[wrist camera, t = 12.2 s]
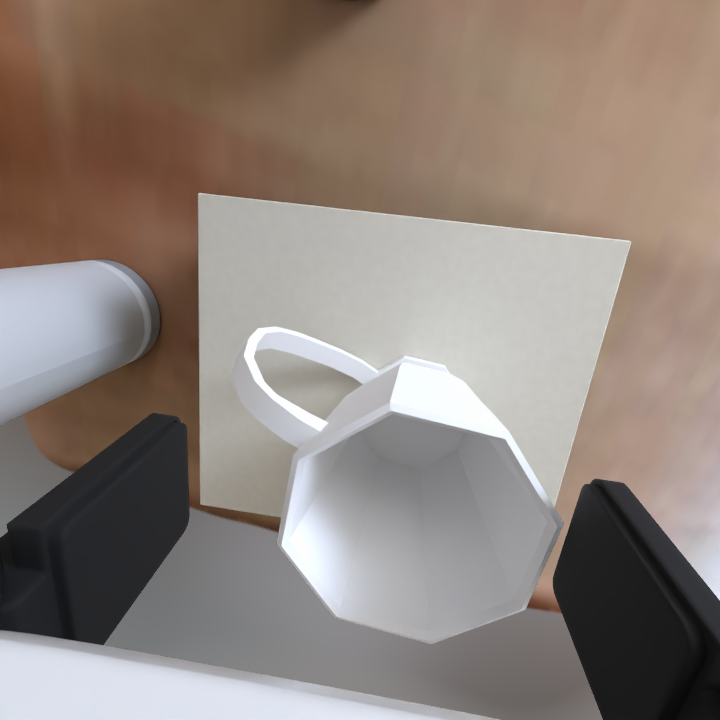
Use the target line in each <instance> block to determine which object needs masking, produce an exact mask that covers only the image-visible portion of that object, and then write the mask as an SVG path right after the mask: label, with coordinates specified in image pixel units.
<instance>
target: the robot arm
mask: <svg viewBox="0 0 720 720" xmlns="http://www.w3.org/2000/svg"><path fill="white" fill-rule="evenodd" d="M188 521H189V486H188V453H187V428H186V425H185V424H183V423H181V421H180V419H179V418H178V417H177V416H170V415H164V414H157V413H153V414H151V415H149V416H148V417H147V418H145V419H144V420H143V421H141V422H140V423H139V424H137V425H136V426H135V427H133V428H132V429H131V430H130V431H128V432H127V433H126V434H124V435H123V436H122V437H120V438H119V439H118V440H116V441H115V442H114V443H113V444H111V445H110V446H109V447H107V448H106V449H105V450H103V451H102V452H101V453H99V454H98V455H97V456H95V457H94V458H93V459H92V460H90V461H89V462H88V463H86V464H85V465H84V466H82V467H81V468H80V469H78V470H77V471H76V472H75V473H73V474H72V475H71V476H69V477H68V478H67V479H65V480H64V481H63V482H61V483H60V484H59V485H57V486H56V487H55V488H54V489H52V490H51V491H50V492H48V493H47V494H46V495H44V496H43V497H42V498H40V499H39V500H38V501H37V502H35V503H34V504H33V505H31V506H30V507H29V508H28V509H26V510H25V511H23V512H22V513H21V514H20V515H18V516H17V517H16V518H14V519H13V520H12V521H10V522H9V523H8V524H7V529H8V532H7V533H6V534H5V535H4V536H2V537H1V538H0V720H500V719H495V718H490V717H485V716H480V715H474V714H469V713H464V712H459V711H454V710H449V709H444V708H439V707H433V706H428V705H423V704H418V703H412V702H407V701H402V700H396V699H391V698H386V697H381V696H376V695H370V694H365V693H360V692H354V691H350V690H344V689H339V688H333V687H328V686H323V685H318V684H312V683H307V682H302V681H296V680H291V679H286V678H280V677H275V676H270V675H264V674H259V673H253V672H248V671H242V670H237V669H232V668H226V667H221V666H215V665H210V664H204V663H199V662H193V661H188V660H182V659H177V658H171V657H166V656H161V655H155V654H150V653H144V652H139V651H133V650H128V649H122V648H117V647H110V646H104V643H105V642H106V640H107V639H108V638H109V636H110V635H111V633H112V632H113V631H114V629H115V628H116V626H117V625H118V624H119V622H120V621H121V619H122V618H123V617H124V615H125V614H126V612H127V611H128V610H129V608H130V607H131V605H132V604H133V602H134V601H135V600H136V598H137V597H138V595H139V594H140V593H141V591H142V590H143V589H144V587H145V586H146V584H147V583H148V582H149V580H150V579H151V578H152V576H153V575H154V573H155V572H156V571H157V569H158V568H159V566H160V565H161V564H162V562H163V561H164V559H165V558H166V556H167V555H168V554H169V552H170V551H171V550H172V548H173V547H174V545H175V544H176V543H177V541H178V540H179V538H180V537H181V536H182V534H183V533H184V531H185V529H186V527H187V525H188ZM553 589H554V593H555V596H556V599H557V602H558V604H559V607H560V609H561V612H562V614H563V617H564V620H565V622H566V625H567V627H568V630H569V632H570V635H571V637H572V640H573V643H574V646H575V648H576V651H577V653H578V656H579V659H580V661H581V663H582V666H583V669H584V671H585V674H586V677H587V679H588V682H589V684H590V687H591V690H592V692H593V695H594V697H595V700H596V702H597V705H598V708H599V710H600V713H601V715H602V718H603V720H720V600H719V599H718V598H717V597H716V596H715V594H714V593H713V592H712V591H711V589H710V588H709V587H708V586H707V584H706V583H705V582H704V581H703V579H702V578H701V577H700V576H699V575H698V573H697V572H696V571H695V570H694V568H693V567H692V566H691V565H690V563H689V562H688V561H687V560H686V558H685V557H684V556H683V555H682V554H681V552H680V551H679V550H678V549H677V547H676V546H675V545H674V544H673V542H672V541H671V540H670V539H669V537H668V536H667V535H666V534H665V533H664V531H663V530H662V529H661V528H660V526H659V525H658V524H657V523H656V521H655V520H654V519H653V518H652V516H651V515H650V514H649V513H648V512H647V510H646V509H645V508H644V507H643V505H642V504H641V503H640V502H639V500H638V499H637V498H636V497H635V495H634V494H633V493H632V492H631V491H630V489H629V488H628V487H627V486H626V485H625V484H624V483H621V482H614V481H607V480H601V479H594V480H593V481H592V482H591V483H590V484H585V485H584V486H583V487H582V490H581V493H580V496H579V499H578V502H577V505H576V508H575V511H574V514H573V517H572V520H571V523H570V526H569V530H568V533H567V536H566V539H565V542H564V545H563V548H562V551H561V554H560V557H559V560H558V563H557V567H556V570H555V573H554V576H553Z"/></svg>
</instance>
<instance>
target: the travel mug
mask: <svg viewBox="0 0 720 720" xmlns="http://www.w3.org/2000/svg"><path fill="white" fill-rule="evenodd" d="M159 329H160V313H159V308H158V304H157V301H156V299H155V296H154V294H153V293H152V291H151V289H150V288H149V286H148V285H147V284H146V283H145V281H144V280H143V279H142V278H141V277H140V276H139V275H138V274H137V273H135V272H134V271H133V270H131V269H130V268H128V267H126V266H125V265H123V264H120V263H117V262H115V261H110V260H104V259H101V260H87V261H78V262H67V263H57V264H47V265H37V266H27V267H17V268H7V269H0V425H2V424H4V423H6V422H8V421H10V420H12V419H14V418H17V417H19V416H21V415H23V414H25V413H27V412H29V411H31V410H33V409H35V408H37V407H39V406H41V405H43V404H46V403H48V402H50V401H52V400H54V399H56V398H58V397H60V396H62V395H64V394H66V393H68V392H70V391H72V390H74V389H77V388H79V387H81V386H83V385H85V384H87V383H89V382H91V381H93V380H95V379H97V378H99V377H101V376H103V375H106V374H108V373H110V372H112V371H114V370H116V369H118V368H120V367H122V366H124V365H126V364H128V363H130V362H132V361H134V360H136V359H138V358H141V357H143V356H144V355H145V354H146V353H147V352H149V351H150V349H151V348H152V347H153V345H154V344H155V342H156V339H157V337H158V334H159Z"/></svg>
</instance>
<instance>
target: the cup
mask: <svg viewBox="0 0 720 720" xmlns="http://www.w3.org/2000/svg"><path fill="white" fill-rule="evenodd" d="M270 348H271V349H276V350H280V351H284V352H288V353H292V354H295V355H298V356H301V357H304V358H307V359H310V360H313V361H316V362H318V363H321V364H324V365H327V366H329V367H332V368H334V369H336V370H338V371H340V372H343V373H345V374H347V375H349V376H351V377H353V378H355V379H356V380H358V381H359V382H360V383H362V384H363V385H362V386H360V387H359V388H357V389H356V390H354V391H353V392H351V393H350V394H348V395H347V396H345V398H344V399H343V400H342V401H341V402H340V403H339V405H338V406H337V407H336V408H335V409H334V410H333V411H332V413H331V414H330V415H329V416H328V417H327V418H326V420H325V421H324V420H322V419H320V418H318V417H316V416H314V415H312V414H310V413H308V412H306V411H305V410H303V409H301V408H299V407H298V406H296V405H294V404H292V403H291V402H289V401H287V400H285V399H284V398H282V397H280V396H278V395H277V394H276V393H275V392H274V391H273V390H272V389H271V388H270V387H269V386H268V385H267V384H266V383H265V381H264V379H263V377H262V375H261V373H260V371H259V368H258V366H257V364H256V362H255V360H254V354H255V351H257V350H263V349H270ZM231 378H232V380H233V383H234V386H235V388H236V391H237V394H238V396H239V399H240V401H241V403H242V404H243V405H244V406H245V407H246V408H247V409H248V411H249V412H250V413H251V414H252V415H253V416H254V417H255V418H256V419H257V420H258V421H259V422H261V423H262V424H263V425H265V426H266V427H267V428H269V429H270V430H271V431H272V432H274V433H275V434H276V435H278V436H279V437H280V438H282V439H283V440H284V441H286V442H288V443H290V444H291V445H293V446H295V447H297V448H299V449H298V450H297V451H296V452H295V453H294V454H293V459H292V464H291V469H290V474H289V480H288V485H287V490H286V495H285V501H284V506H283V511H282V517H281V522H280V527H279V532H278V538H277V543H276V544H277V546H278V547H279V548H280V550H281V551H282V552H283V553H284V555H285V556H286V557H287V559H288V560H289V561H290V562H291V564H292V565H293V566H294V568H295V569H296V570H297V571H298V573H299V574H300V575H301V576H302V578H303V579H304V580H305V582H306V583H307V584H308V585H309V587H310V588H311V589H312V591H313V592H314V593H315V594H316V596H317V597H318V598H319V600H320V601H321V602H322V603H323V605H324V606H325V607H326V609H327V610H328V611H329V612H330V614H331V615H332V616H333V617H334V618H337V619H341V620H344V621H348V622H351V623H355V624H359V625H363V626H366V627H370V628H374V629H377V630H381V631H385V632H388V633H392V634H396V635H399V636H403V637H407V638H411V639H414V640H418V641H422V642H425V643H429V644H433V643H435V642H438V641H441V640H444V639H446V638H449V637H452V636H455V635H457V634H460V633H463V632H465V631H468V630H471V629H474V628H477V627H479V626H482V625H485V624H488V623H490V622H493V621H496V620H499V619H501V618H504V617H507V616H510V615H512V614H515V613H518V612H521V611H523V610H525V609H526V607H527V605H528V602H529V600H530V598H531V596H532V594H533V591H534V589H535V587H536V585H537V582H538V580H539V578H540V576H541V574H542V571H543V569H544V567H545V565H546V562H547V560H548V558H549V556H550V554H551V551H552V549H553V547H554V545H555V542H556V540H557V538H558V536H559V534H560V531H561V529H562V527H563V525H564V523H563V521H562V520H561V518H560V516H559V515H558V513H557V511H556V510H555V508H554V506H553V505H552V503H551V501H550V499H549V498H548V496H547V494H546V493H545V491H544V489H543V488H542V486H541V484H540V483H539V481H538V479H537V478H536V476H535V474H534V473H533V471H532V469H531V468H530V466H529V464H528V462H527V461H526V459H525V457H524V456H523V454H522V452H521V451H520V449H519V447H518V446H517V444H516V442H515V441H514V439H513V437H512V436H511V434H510V432H509V431H508V430H507V429H506V428H505V426H504V425H503V424H502V423H501V422H500V421H499V420H498V419H497V417H496V416H495V415H494V414H493V413H492V412H491V411H490V410H489V409H488V408H487V407H486V406H485V405H484V404H483V403H482V402H481V401H480V399H479V398H478V397H477V396H476V395H475V394H474V392H473V391H472V390H471V389H470V388H469V387H468V385H467V384H466V383H465V382H464V381H462V380H461V379H459V378H457V377H455V376H453V375H452V374H450V373H449V371H448V370H447V368H446V366H445V365H442V364H438V363H434V362H430V361H426V360H422V359H418V358H413V357H409V356H405V355H404V356H402V357H400V358H398V359H397V360H395V361H393V362H391V363H390V364H388V365H386V366H384V367H383V368H381V369H379V370H376V369H375V368H374V367H372V366H371V365H369V364H368V363H366V362H365V361H363V360H361V359H359V358H357V357H355V356H353V355H351V354H349V353H347V352H345V351H343V350H341V349H339V348H337V347H334V346H332V345H329V344H327V343H324V342H322V341H320V340H317V339H314V338H312V337H309V336H307V335H304V334H301V333H299V332H296V331H292V330H288V329H284V328H280V327H276V326H274V327H265V328H258V329H257V330H256V331H255V332H254V333H253V334H252V335H251V336H250V337H249V339H248V340H247V342H246V343H245V345H244V347H243V348H242V350H241V351H240V353H239V355H238V356H237V359H236V362H235V365H234V368H233V371H232V374H231Z"/></svg>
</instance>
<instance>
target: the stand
mask: <svg viewBox="0 0 720 720" xmlns="http://www.w3.org/2000/svg"><path fill="white" fill-rule="evenodd" d="M630 245H631V241H626V240H617V239H608V238H599V237H590V236H581V235H572V234H563V233H555V232H546V231H537V230H528V229H519V228H510V227H501V226H492V225H483V224H474V223H465V222H456V221H447V220H438V219H429V218H420V217H411V216H402V215H393V214H384V213H375V212H366V211H357V210H348V209H339V208H330V207H321V206H312V205H303V204H294V203H285V202H276V201H267V200H258V199H249V198H240V197H231V196H222V195H213V194H204V193H198V275H199V416H200V504H201V505H206V506H212V507H218V508H225V509H231V510H237V511H243V512H249V513H256V514H262V515H268V516H274V517H280V518H281V517H282V511H283V506H284V501H285V495H286V490H287V485H288V480H289V474H290V469H291V464H292V459H293V454H294V453H295V452H296V451H297V450H298V449H299V448H297V447H295V446H293V445H291V444H290V443H288V442H286V441H284V440H283V439H282V438H280V437H279V436H278V435H276V434H275V433H274V432H272V431H271V430H270V429H269V428H267V427H266V426H265V425H263V424H262V423H261V422H259V421H258V420H257V419H256V418H255V417H254V416H253V415H252V414H251V413H250V412H249V411H248V409H247V408H246V407H245V406H244V405H243V404H242V403H241V401H240V399H239V396H238V394H237V391H236V388H235V386H234V383H233V380H232V378H231V374H232V371H233V368H234V365H235V362H236V359H237V356H238V355H239V353H240V351H241V350H242V348H243V347H244V345H245V343H246V342H247V340H248V339H249V337H250V336H251V335H252V334H253V333H254V332H255V331H256V330H257V329H258V328H265V327H274V326H276V327H280V328H284V329H288V330H292V331H296V332H299V333H301V334H304V335H307V336H309V337H312V338H314V339H317V340H320V341H322V342H324V343H327V344H329V345H332V346H334V347H337V348H339V349H341V350H343V351H345V352H347V353H349V354H351V355H353V356H355V357H357V358H359V359H361V360H363V361H365V362H366V363H368V364H369V365H371V366H372V367H374V368H375V369H376V370H379V369H381V368H383V367H384V366H386V365H388V364H390V363H391V362H393V361H395V360H397V359H398V358H400V357H402V356H404V355H405V356H409V357H413V358H418V359H422V360H426V361H430V362H434V363H438V364H442V365H445V366H446V368H447V370H448V371H449V373H450V374H452V375H453V376H455V377H457V378H459V379H461V380H462V381H464V382H465V383H466V384H467V385H468V387H469V388H470V389H471V390H472V391H473V392H474V394H475V395H476V396H477V397H478V398H479V399H480V401H481V402H482V403H483V404H484V405H485V406H486V407H487V408H488V409H489V410H490V411H491V412H492V413H493V414H494V415H495V416H496V417H497V419H498V420H499V421H500V422H501V423H502V424H503V425H504V426H505V428H506V429H507V430H508V431H509V432H510V434H511V436H512V437H513V439H514V441H515V442H516V444H517V446H518V447H519V449H520V451H521V452H522V454H523V456H524V457H525V459H526V461H527V462H528V464H529V466H530V468H531V469H532V471H533V473H534V474H535V476H536V478H537V479H538V481H539V483H540V484H541V486H542V488H543V489H544V491H545V493H546V494H547V496H548V498H549V499H550V501H551V503H552V505H553V506H555V503H556V500H557V496H558V493H559V489H560V486H561V482H562V479H563V475H564V472H565V469H566V465H567V462H568V458H569V455H570V451H571V448H572V444H573V441H574V438H575V434H576V431H577V427H578V424H579V420H580V417H581V413H582V410H583V407H584V403H585V400H586V396H587V393H588V389H589V386H590V382H591V379H592V376H593V372H594V369H595V365H596V362H597V358H598V355H599V351H600V348H601V345H602V341H603V338H604V334H605V331H606V327H607V324H608V320H609V317H610V314H611V310H612V307H613V303H614V300H615V296H616V293H617V289H618V286H619V283H620V279H621V276H622V272H623V269H624V265H625V262H626V258H627V255H628V252H629V248H630ZM254 360H255V362H256V364H257V366H258V368H259V371H260V373H261V375H262V377H263V379H264V381H265V383H266V384H267V385H268V386H269V387H270V388H271V389H272V390H273V391H274V392H275V393H276V394H277V395H278V396H280V397H282V398H284V399H285V400H287V401H289V402H291V403H292V404H294V405H296V406H298V407H299V408H301V409H303V410H305V411H306V412H308V413H310V414H312V415H314V416H316V417H318V418H320V419H322V420H324V421H325V420H326V418H327V417H328V416H329V415H330V414H331V413H332V411H333V410H334V409H335V408H336V407H337V406H338V405H339V403H340V402H341V401H342V400H343V399H344V398H345V396H347V395H348V394H350V393H351V392H353V391H354V390H356V389H357V388H359V387H360V386H362V385H363V384H362V383H360V382H359V381H358V380H356V379H355V378H353V377H351V376H349V375H347V374H345V373H343V372H340V371H338V370H336V369H334V368H332V367H329V366H327V365H324V364H321V363H318V362H316V361H313V360H310V359H307V358H304V357H301V356H298V355H295V354H292V353H288V352H284V351H280V350H276V349H271V348H270V349H263V350H257V351H255V354H254Z"/></svg>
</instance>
